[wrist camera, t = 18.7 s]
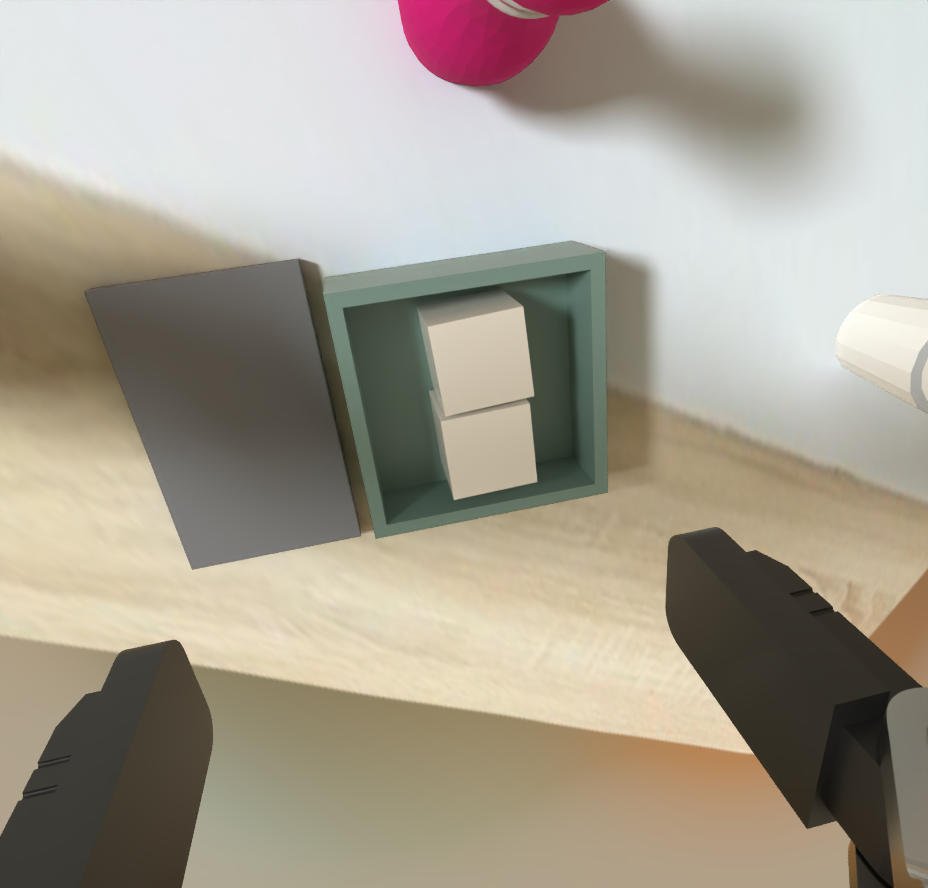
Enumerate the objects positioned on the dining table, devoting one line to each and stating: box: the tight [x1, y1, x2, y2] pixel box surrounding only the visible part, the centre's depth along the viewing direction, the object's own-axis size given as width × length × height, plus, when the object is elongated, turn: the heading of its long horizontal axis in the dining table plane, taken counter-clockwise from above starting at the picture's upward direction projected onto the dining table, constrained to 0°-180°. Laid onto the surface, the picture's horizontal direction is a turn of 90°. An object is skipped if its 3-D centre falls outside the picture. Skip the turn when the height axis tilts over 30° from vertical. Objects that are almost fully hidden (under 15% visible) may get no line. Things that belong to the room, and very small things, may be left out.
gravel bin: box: [323, 241, 608, 539], centre depth 36 cm, size 15×15×5 cm
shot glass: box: [836, 294, 928, 414], centre depth 39 cm, size 7×7×7 cm
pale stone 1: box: [417, 288, 534, 417], centre depth 34 cm, size 5×5×5 cm
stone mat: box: [84, 259, 361, 570], centre depth 36 cm, size 11×18×1 cm, turn 7°
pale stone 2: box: [429, 390, 537, 500], centre depth 36 cm, size 5×5×5 cm
